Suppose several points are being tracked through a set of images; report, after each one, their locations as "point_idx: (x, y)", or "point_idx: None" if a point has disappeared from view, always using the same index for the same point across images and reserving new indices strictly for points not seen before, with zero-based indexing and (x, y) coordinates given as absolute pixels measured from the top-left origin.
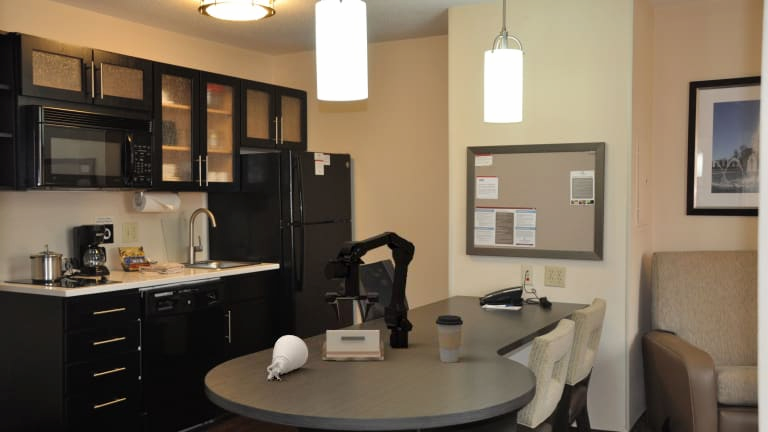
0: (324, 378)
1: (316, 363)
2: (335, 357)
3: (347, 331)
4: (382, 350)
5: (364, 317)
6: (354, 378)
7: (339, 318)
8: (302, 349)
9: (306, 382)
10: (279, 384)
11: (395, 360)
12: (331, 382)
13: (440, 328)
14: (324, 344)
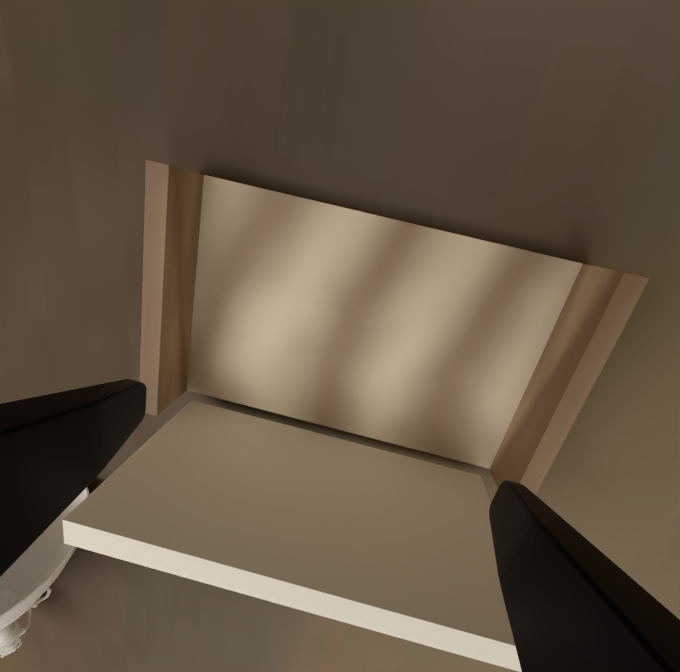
0: (187, 622)
1: (154, 422)
2: (241, 402)
3: (247, 588)
4: None
5: (513, 572)
6: (288, 652)
7: (114, 396)
8: (16, 614)
9: (130, 639)
10: (52, 631)
11: (562, 477)
12: (208, 663)
13: None
14: (149, 300)
